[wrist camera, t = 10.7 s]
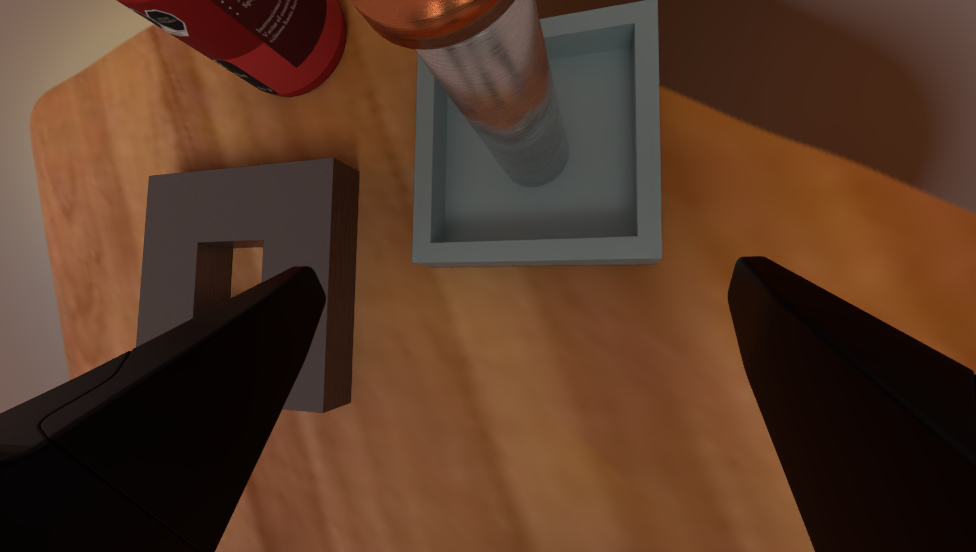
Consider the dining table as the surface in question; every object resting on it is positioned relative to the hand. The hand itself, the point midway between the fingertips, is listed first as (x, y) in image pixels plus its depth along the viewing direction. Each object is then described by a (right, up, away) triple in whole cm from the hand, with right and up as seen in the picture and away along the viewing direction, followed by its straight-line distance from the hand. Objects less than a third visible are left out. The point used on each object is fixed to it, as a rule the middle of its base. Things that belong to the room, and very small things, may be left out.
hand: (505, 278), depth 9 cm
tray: (+2, +7, +14) cm, 15 cm away
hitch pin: (+2, +6, +13) cm, 15 cm away
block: (-15, -1, +18) cm, 24 cm away
